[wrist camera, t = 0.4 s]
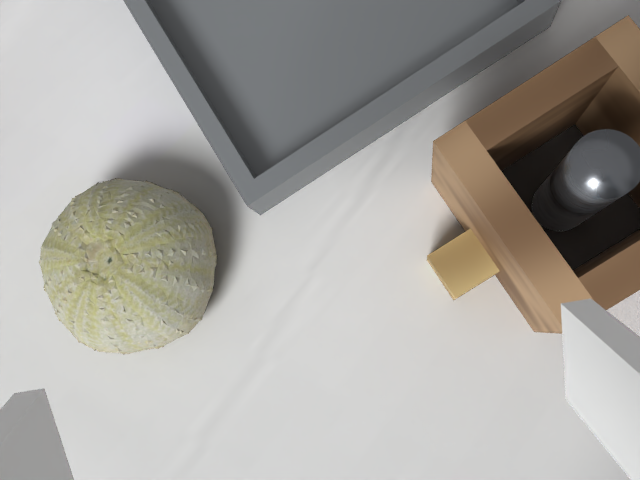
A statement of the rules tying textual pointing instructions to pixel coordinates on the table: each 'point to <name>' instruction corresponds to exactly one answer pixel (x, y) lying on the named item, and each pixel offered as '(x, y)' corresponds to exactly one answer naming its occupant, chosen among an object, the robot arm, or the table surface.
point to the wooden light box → (505, 204)
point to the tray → (321, 73)
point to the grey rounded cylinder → (587, 179)
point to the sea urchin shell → (129, 266)
